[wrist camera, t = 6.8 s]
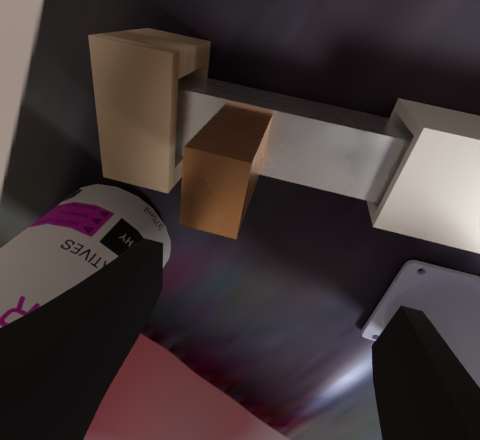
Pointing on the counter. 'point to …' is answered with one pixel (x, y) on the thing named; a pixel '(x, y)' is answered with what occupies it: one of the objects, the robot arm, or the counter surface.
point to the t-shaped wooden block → (274, 149)
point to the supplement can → (73, 246)
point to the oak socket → (142, 101)
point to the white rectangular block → (435, 178)
